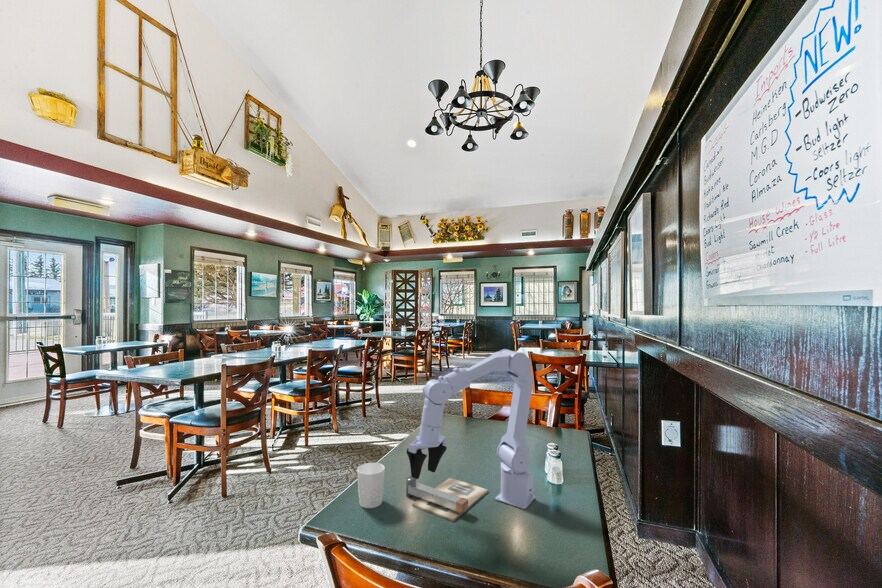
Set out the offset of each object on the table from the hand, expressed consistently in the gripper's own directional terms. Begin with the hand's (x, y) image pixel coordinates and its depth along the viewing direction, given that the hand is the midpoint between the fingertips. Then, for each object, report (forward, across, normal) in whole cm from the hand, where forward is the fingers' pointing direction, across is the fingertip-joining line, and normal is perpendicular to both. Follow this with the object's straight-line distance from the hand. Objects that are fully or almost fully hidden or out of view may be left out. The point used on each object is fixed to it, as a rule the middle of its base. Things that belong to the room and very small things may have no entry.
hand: (423, 474), depth 108 cm
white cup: (+13, +2, -16) cm, 21 cm away
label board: (+10, -14, +2) cm, 17 cm away
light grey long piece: (+10, -8, 0) cm, 13 cm away
